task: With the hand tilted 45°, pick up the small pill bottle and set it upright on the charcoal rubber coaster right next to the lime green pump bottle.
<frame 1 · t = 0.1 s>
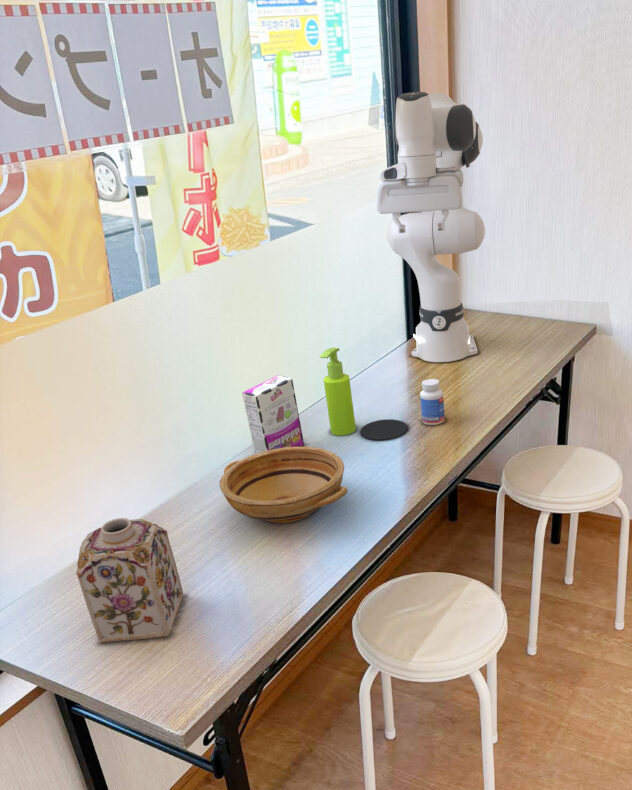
hand: (421, 231, 202), 39 cm above the table, tool pointing down, fingers open, 8 cm apart
decorative jar: (143, 620, 140), on the table
pill bottle: (433, 421, 201), on the table
ceramic bowl: (288, 509, 169), on the table
lime green pump bottle: (342, 432, 200), on the table
coaster: (384, 430, 198), on the table
candy bar box: (280, 453, 193), on the table
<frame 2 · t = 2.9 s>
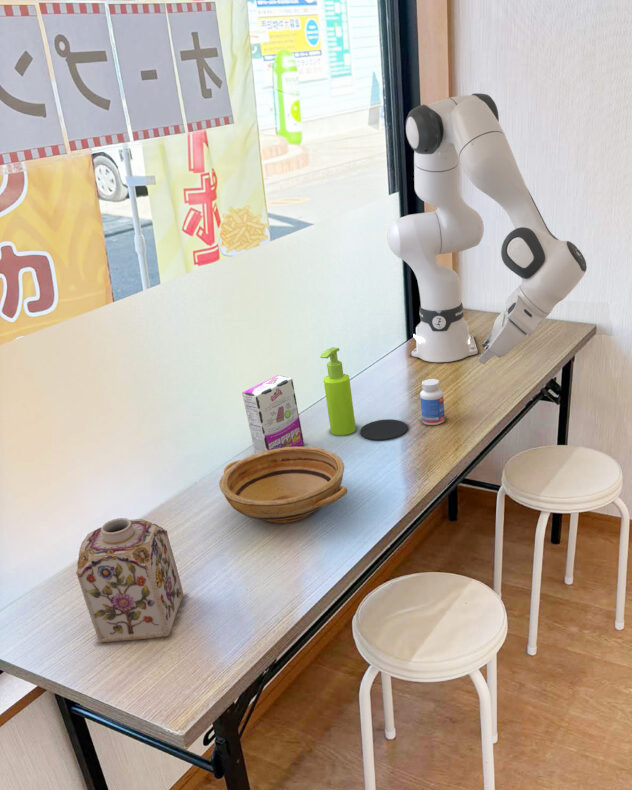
hand: (482, 354, 191), 16 cm above the table, tool tilted 45°, fingers open, 8 cm apart
nothing on the table moved.
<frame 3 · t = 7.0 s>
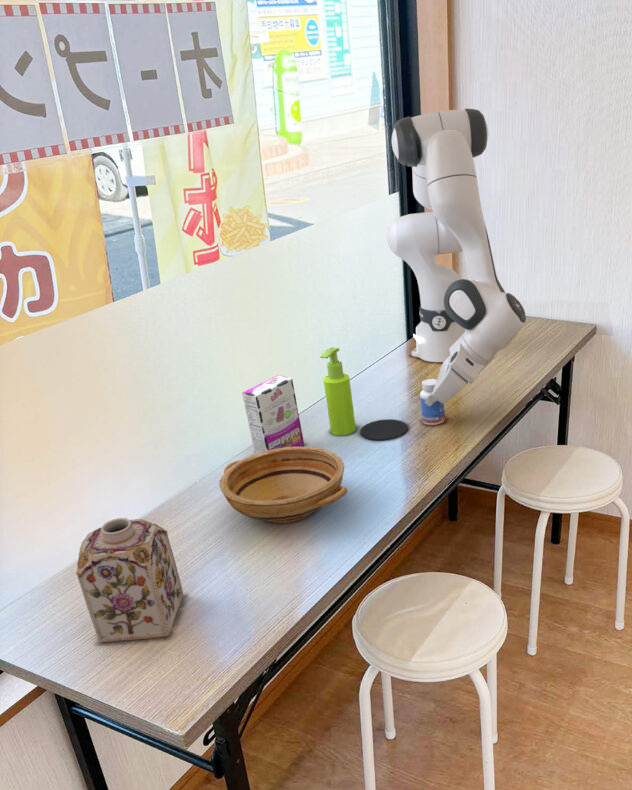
hand: (429, 397, 198), 6 cm above the table, tool tilted 45°, fingers closed on pill bottle, 5 cm apart
pill bottle: (433, 421, 201), on the table, touching gripper
everything else where it was.
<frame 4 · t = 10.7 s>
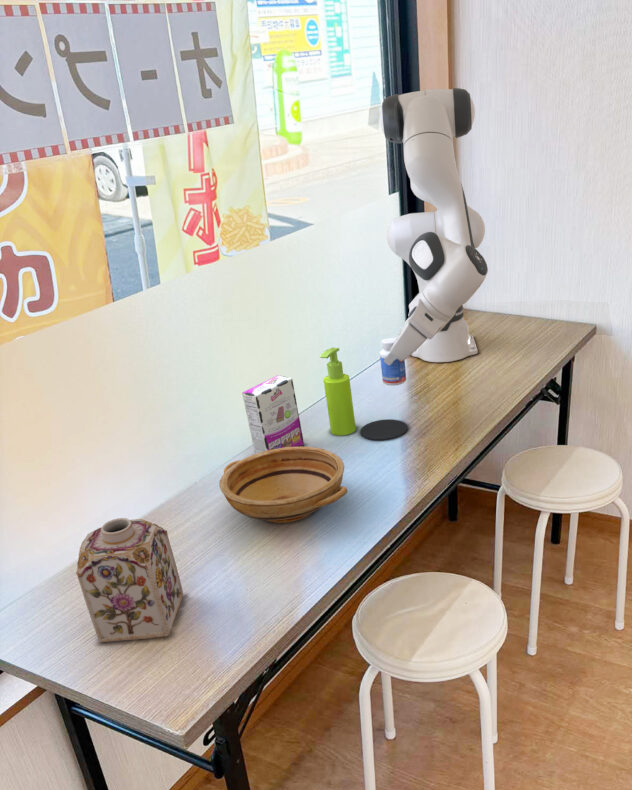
hand: (389, 357, 191), 17 cm above the table, tool tilted 45°, fingers closed on pill bottle, 5 cm apart
pill bottle: (394, 382, 194), point 11 cm above the table, touching gripper
everything else where it was.
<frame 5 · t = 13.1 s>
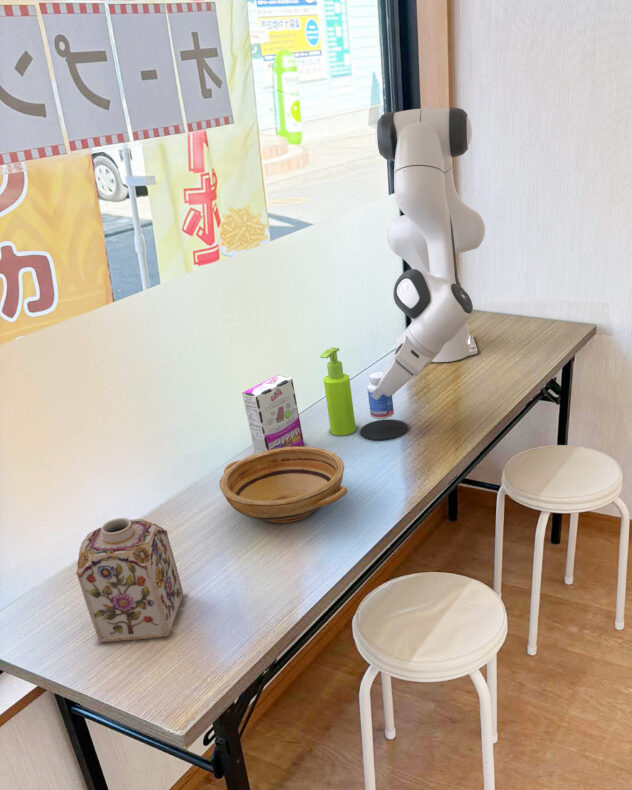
hand: (376, 391, 194), 10 cm above the table, tool tilted 45°, fingers closed on pill bottle, 5 cm apart
pill bottle: (382, 415, 196), point 4 cm above the table, touching gripper
everything else where it was.
when the fingers open (6 cm above the table, at t = 14.7 s): pill bottle stays where it is, resting on coaster.
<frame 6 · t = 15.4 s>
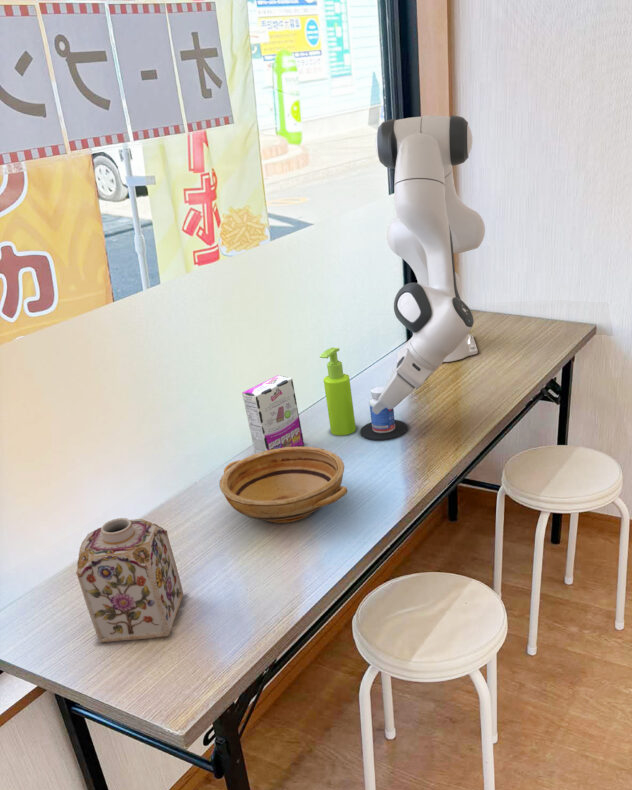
hand: (378, 403, 195), 7 cm above the table, tool tilted 45°, fingers open, 8 cm apart
pill bottle: (384, 429, 198), resting on coaster
everything else where it was.
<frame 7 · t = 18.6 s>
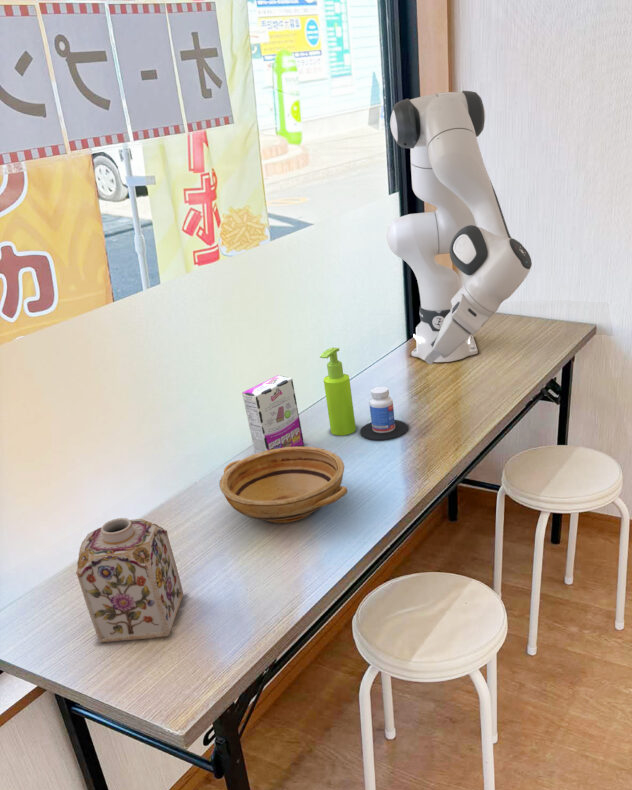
hand: (430, 353, 188), 18 cm above the table, tool tilted 45°, fingers open, 8 cm apart
nothing on the table moved.
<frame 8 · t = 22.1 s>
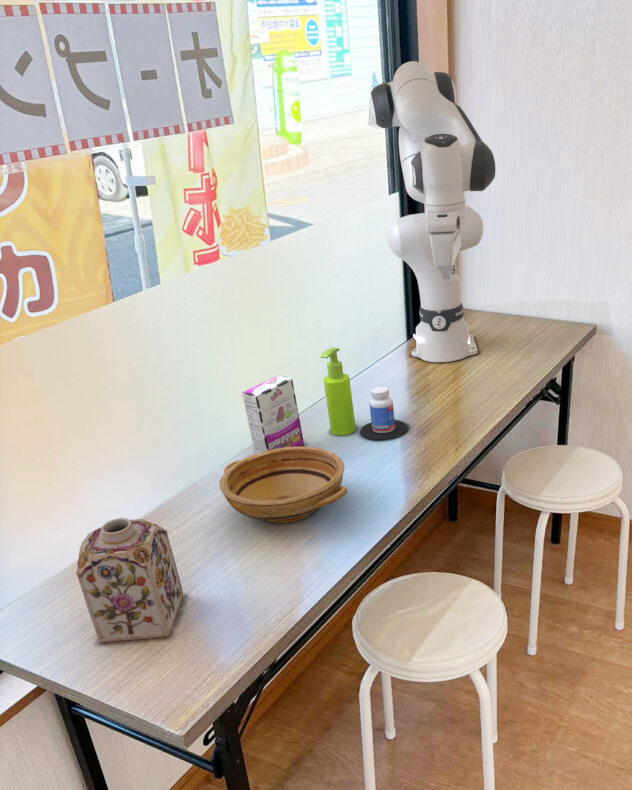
hand: (449, 279, 192), 31 cm above the table, tool pointing down, fingers open, 8 cm apart
nothing on the table moved.
at the end: pill bottle 10.0 cm from the lime green pump bottle (horizontally); pill bottle inside the target area on the coaster (0.0 cm from its centre), point 0.2 cm above the coaster's base; pill bottle tilted 0° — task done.
